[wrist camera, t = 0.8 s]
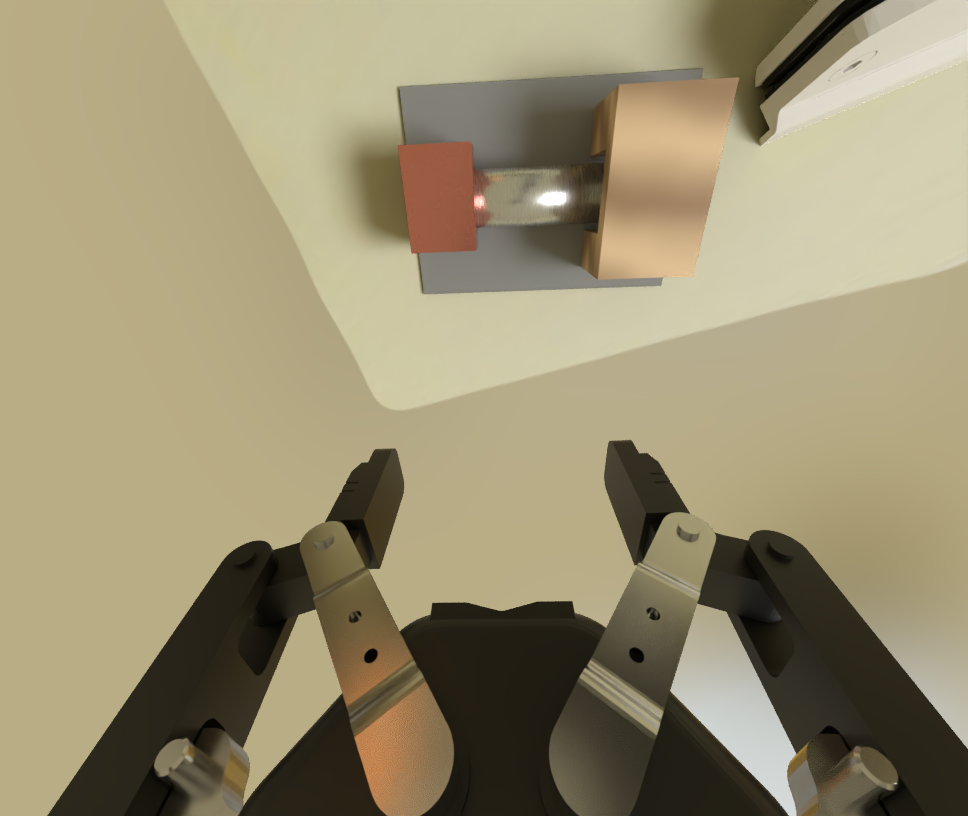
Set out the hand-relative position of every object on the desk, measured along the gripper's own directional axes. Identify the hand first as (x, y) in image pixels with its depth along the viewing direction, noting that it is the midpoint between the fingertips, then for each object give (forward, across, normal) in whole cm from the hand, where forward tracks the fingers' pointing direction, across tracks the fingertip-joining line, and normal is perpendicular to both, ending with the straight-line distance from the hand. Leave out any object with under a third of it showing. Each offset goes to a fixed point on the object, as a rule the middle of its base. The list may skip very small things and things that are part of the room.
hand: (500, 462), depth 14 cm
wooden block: (+24, -11, -8) cm, 28 cm away
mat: (+24, -4, -8) cm, 26 cm away
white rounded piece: (+25, -27, -17) cm, 41 cm away
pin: (+24, -1, -9) cm, 25 cm away
